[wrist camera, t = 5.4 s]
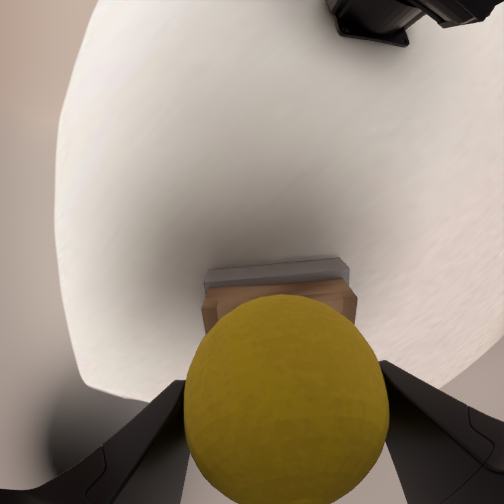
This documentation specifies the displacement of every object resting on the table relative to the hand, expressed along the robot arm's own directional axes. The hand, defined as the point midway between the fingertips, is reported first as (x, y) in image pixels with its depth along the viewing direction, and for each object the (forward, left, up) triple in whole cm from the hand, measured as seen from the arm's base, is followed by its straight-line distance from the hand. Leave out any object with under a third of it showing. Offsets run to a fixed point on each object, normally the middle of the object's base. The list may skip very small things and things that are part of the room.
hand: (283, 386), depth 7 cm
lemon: (0, 0, -4) cm, 4 cm away
